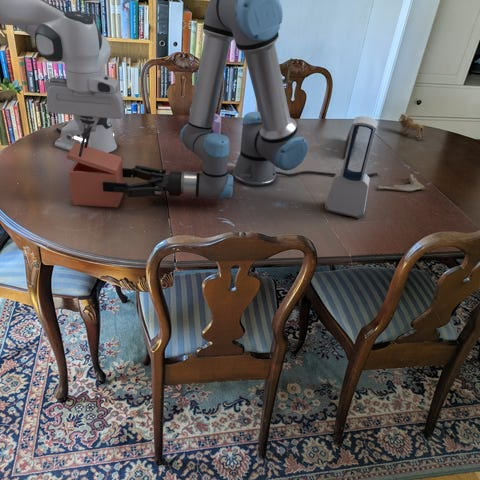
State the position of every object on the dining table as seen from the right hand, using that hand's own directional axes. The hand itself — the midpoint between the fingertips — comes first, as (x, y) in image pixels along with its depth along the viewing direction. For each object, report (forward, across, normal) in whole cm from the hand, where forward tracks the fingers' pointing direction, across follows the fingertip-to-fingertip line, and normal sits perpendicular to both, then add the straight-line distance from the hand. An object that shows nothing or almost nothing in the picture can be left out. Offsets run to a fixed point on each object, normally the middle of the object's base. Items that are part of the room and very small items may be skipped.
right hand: (106, 178), depth 139 cm
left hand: (+4, 0, +15) cm, 15 cm away
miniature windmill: (-62, +80, -7) cm, 101 cm away
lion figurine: (-124, +80, -7) cm, 148 cm away
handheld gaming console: (-89, +56, -7) cm, 106 cm away
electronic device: (-74, +2, -7) cm, 75 cm away
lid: (+3, 0, +6) cm, 7 cm away
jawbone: (-99, +25, -7) cm, 103 cm away
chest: (+3, 0, -7) cm, 7 cm away
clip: (-27, +66, -7) cm, 72 cm away
